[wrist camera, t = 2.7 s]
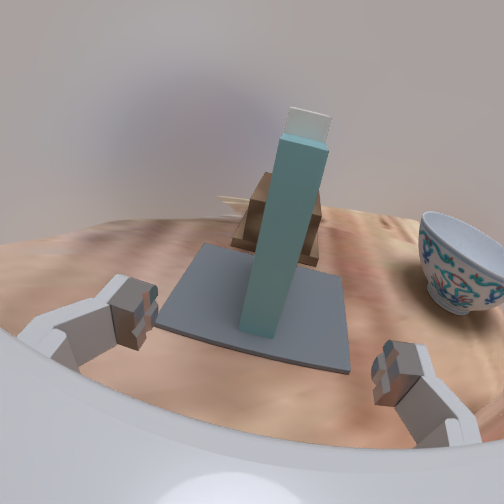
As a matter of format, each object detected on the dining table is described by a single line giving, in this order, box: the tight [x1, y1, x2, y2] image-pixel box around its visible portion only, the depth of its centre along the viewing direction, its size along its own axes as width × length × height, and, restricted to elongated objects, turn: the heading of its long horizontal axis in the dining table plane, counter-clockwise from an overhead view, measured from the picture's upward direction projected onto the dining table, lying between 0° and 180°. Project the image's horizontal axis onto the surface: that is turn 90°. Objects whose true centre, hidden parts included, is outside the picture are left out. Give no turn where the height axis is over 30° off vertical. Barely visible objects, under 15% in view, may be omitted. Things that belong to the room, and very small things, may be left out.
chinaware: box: [419, 212, 504, 315], centre depth 28 cm, size 15×15×8 cm
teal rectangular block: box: [238, 107, 331, 339], centre depth 21 cm, size 2×9×15 cm, turn 170°
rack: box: [231, 172, 322, 267], centre depth 35 cm, size 9×11×6 cm
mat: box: [154, 243, 351, 374], centre depth 25 cm, size 14×12×1 cm
